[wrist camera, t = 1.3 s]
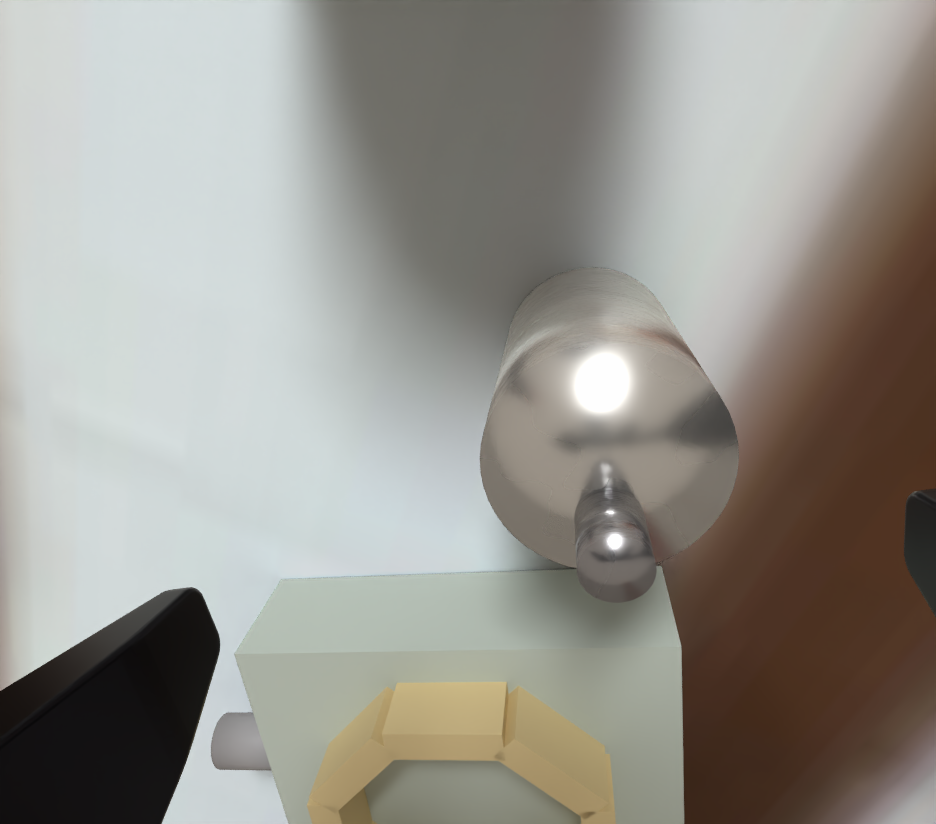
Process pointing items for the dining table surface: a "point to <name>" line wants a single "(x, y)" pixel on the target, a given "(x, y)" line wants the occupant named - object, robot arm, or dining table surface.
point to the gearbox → (462, 701)
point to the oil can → (605, 433)
